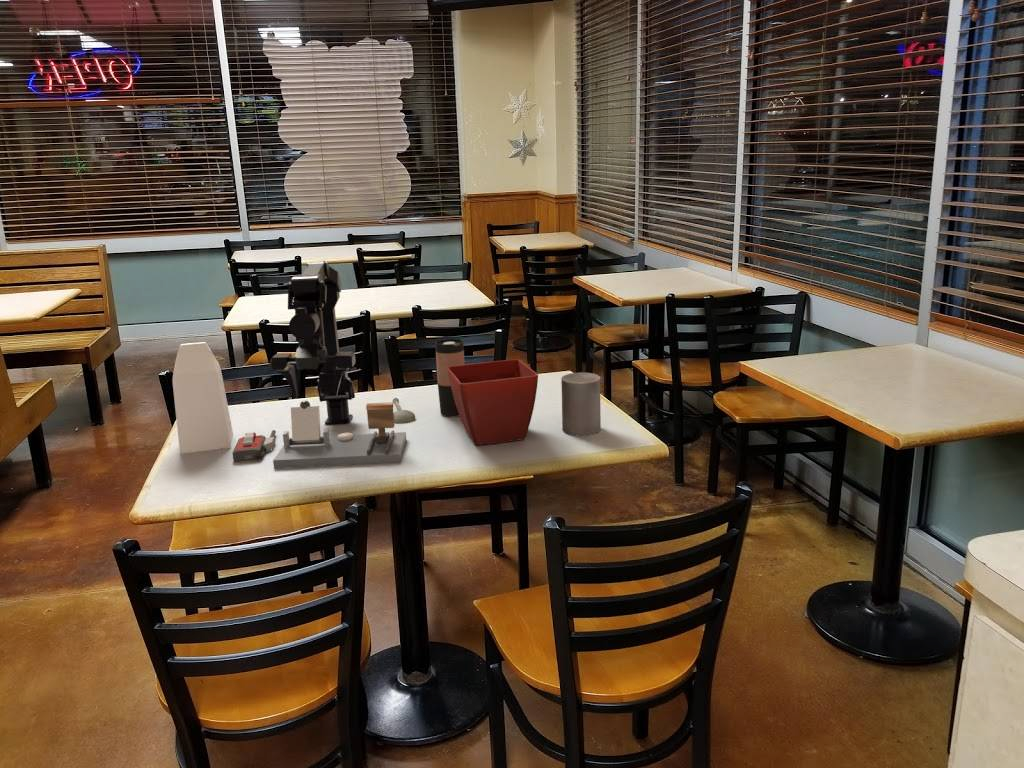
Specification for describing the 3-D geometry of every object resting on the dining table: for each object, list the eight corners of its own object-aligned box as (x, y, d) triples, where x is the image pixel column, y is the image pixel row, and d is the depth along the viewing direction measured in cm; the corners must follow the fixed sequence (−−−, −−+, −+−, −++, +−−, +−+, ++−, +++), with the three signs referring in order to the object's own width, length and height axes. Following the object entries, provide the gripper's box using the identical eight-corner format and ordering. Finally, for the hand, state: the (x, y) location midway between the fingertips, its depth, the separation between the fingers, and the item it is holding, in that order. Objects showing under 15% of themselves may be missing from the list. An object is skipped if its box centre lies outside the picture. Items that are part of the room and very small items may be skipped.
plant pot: (450, 428, 215) (446, 365, 211) (521, 420, 220) (519, 358, 215) (464, 452, 198) (460, 383, 193) (541, 442, 202) (539, 375, 197)
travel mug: (442, 408, 233) (437, 338, 228) (469, 408, 232) (465, 338, 227) (437, 417, 225) (432, 344, 220) (465, 416, 225) (461, 344, 219)
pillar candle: (560, 425, 215) (558, 368, 210) (597, 422, 215) (596, 366, 211) (565, 437, 205) (563, 378, 201) (604, 434, 206) (603, 376, 202)
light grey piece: (291, 445, 201) (289, 401, 201) (324, 443, 202) (322, 399, 202) (288, 445, 199) (286, 401, 199) (322, 444, 199) (320, 399, 199)
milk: (180, 453, 205) (164, 350, 199) (184, 439, 216) (169, 341, 209) (231, 447, 208) (217, 345, 202) (233, 433, 219) (220, 336, 212)
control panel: (289, 445, 208) (287, 424, 206) (406, 439, 208) (404, 418, 207) (274, 468, 192) (271, 445, 191) (400, 462, 193) (398, 439, 191)
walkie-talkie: (270, 461, 198) (279, 435, 217) (267, 444, 197) (276, 419, 216) (231, 465, 196) (244, 439, 216) (229, 448, 195) (241, 422, 214)
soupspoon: (391, 429, 221) (416, 427, 222) (391, 417, 220) (416, 415, 221) (384, 403, 241) (407, 402, 243) (384, 392, 240) (407, 391, 242)
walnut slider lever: (371, 437, 204) (367, 402, 201) (396, 436, 204) (393, 401, 201) (368, 443, 200) (365, 407, 197) (394, 441, 200) (391, 405, 198)
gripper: (261, 338, 184) (267, 407, 188) (346, 336, 184) (351, 404, 188) (273, 329, 194) (278, 394, 198) (353, 327, 195) (357, 392, 199)
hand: (316, 396), depth 196 cm, fingers open, 9 cm apart
